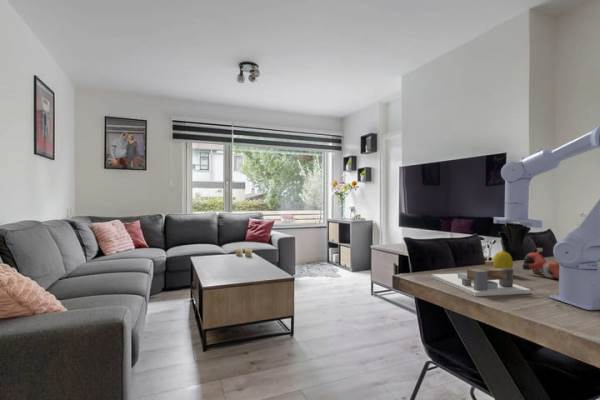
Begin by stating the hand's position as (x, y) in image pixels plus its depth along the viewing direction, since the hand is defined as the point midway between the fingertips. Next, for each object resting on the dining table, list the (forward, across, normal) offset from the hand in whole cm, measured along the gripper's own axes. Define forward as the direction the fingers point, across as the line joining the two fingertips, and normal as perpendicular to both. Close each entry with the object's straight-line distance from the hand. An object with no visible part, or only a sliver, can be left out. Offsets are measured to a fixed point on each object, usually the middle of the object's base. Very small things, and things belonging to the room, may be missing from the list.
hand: (515, 250), depth 92 cm
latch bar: (+9, +3, -11) cm, 15 cm away
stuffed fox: (+11, -8, +21) cm, 25 cm away
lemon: (+11, -13, +8) cm, 19 cm away
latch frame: (+10, -2, -11) cm, 15 cm away
